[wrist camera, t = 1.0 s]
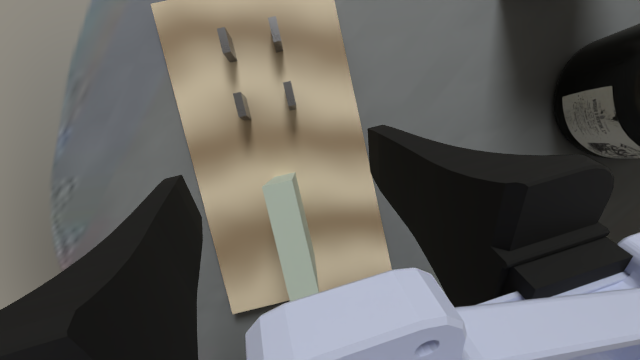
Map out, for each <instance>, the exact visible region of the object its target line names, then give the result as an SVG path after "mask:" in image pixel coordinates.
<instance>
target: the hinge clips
mask: <svg viewBox="0 0 640 360" xmlns="http://www.w3.org/2000/svg"><path fill="white" fill-rule="evenodd" d="M268 21H269V25H270V29H271V34H272V38H273V42H274V46H275V50H276V53H277V52H281V51H283V47H282V41H281V37H280V32H279V28H278V24H277V19H276V16H274V17H269V18H268ZM217 32H218V36H219V40H220V44H221V48H222V52H223V54H224V55H225V57H226V58H227V59H228V61H229V62H230V63H231V62H235V61H237V58H236V53H235V49H234V45H233V41H232V38H231V36H230V35H229V33H228V32H227V30H226V28H225V27H222V28H217ZM283 85H284V89H285V94H286V98H287V102H288V107H289V110H295V109H297V107H296V102H295V97H294V93H293V89H292V84H291V81H288V82H283ZM233 96H234V101H235V105H236V109H237V113H238V117H239V118H241V119H242V120H244V121H245V120H250V119H251V115H250V111H249V107H248V103H247V98H246V97H245V96H244V95H243V94H242V93H241V92H238V93H233Z"/></svg>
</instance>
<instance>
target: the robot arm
mask: <svg viewBox="0 0 640 360" xmlns="http://www.w3.org/2000/svg"><path fill="white" fill-rule="evenodd" d="M368 143H369V160H370V172H371V174H372V176H373V178H374V180H375V182H376V184H377V186H378V187H379V189H380V191H381V192H382V194H383V195H384V196H385V198H386V199H387V200H388V202H389V203H390V204H391V206H392V207H393V208H394V210H395V211H396V212H397V214H398V215H399V216H400V218H401V219H402V220H403V222H404V223H405V224H406V226H407V227H408V228H409V230H410V231H411V233H412V234H413V236H414V237H415V239H416V240H417V242H418V244H419V246H420V247H421V249H422V251H423V252H424V254H425V256H426V258H427V259H428V261H429V263H430V265H431V267H432V268H433V270H434V272H435V274H436V276H437V278H438V279H439V281H440V283H441V285H442V287H443V289H444V291H445V293H446V295H447V296H446V295H445V293H444V292H443V290H442V289H441V288H440V286H439V285H438V283H437V282H436V280H435V279H434V277H433V276H432V275H431V274H430V273H427V272H425V271H422V270H420V269H417V268H404V269H396V270H389V271H386V272H383V273H380V274H377V275H373V276H370V277H367V278H364V279H361V280H357V281H354V282H351V283H348V284H345V285H341V286H338V287H335V288H332V289H329V290H325V291H322V292H319V293H316V294H313V295H309V296H306V297H303V298H300V299H296V300H293V301H290V302H287V303H284V304H282V305H280V306H278V307H276V308H274V309H272V310H270V311H268V312H266V313H264V314H262V315H261V316H260V317H259V318H258V319H257V320H256V322H255V323H254V324H253V325H252V326H251V328H250V329H249V330H248V331H247V332H246V334H245V342H246V360H640V232H639V233H636V234H633V235H630V236H628V237H626V238H624V239H622V240H621V241H620V242H618V243H617V244H615V243H614V242H612V241H611V240H609V239H608V238H606V237H605V236H607V235H608V234H609V230H608V228H606V227H605V226H603V225H602V224H600V223H599V222H598V220H599V218H600V216H601V214H602V212H603V210H604V208H605V206H606V204H607V202H608V200H609V198H610V195H611V192H612V190H613V182H614V178H613V174H612V172H611V170H610V169H609V168H607V167H606V166H604V165H602V164H600V163H598V162H596V161H594V160H592V159H590V158H588V157H586V156H584V155H549V156H538V155H514V154H501V153H492V152H484V151H477V150H471V149H466V148H460V147H455V146H451V145H447V144H443V143H439V142H436V141H432V140H429V139H426V138H422V137H419V136H416V135H413V134H410V133H407V132H404V131H402V130H399V129H396V128H392V127H389V126H385V125H380V126H376V127H372V128H368ZM202 241H203V235H202V217H201V215H200V213H199V210H198V208H197V206H196V204H195V202H194V200H193V198H192V196H191V193H190V191H189V189H188V187H187V185H186V183H185V181H184V179H183V176H182V175H179V176H175V177H171V178H167V179H164V180H163V181H162V182H161V183H160V184H159V185H158V186H157V187H156V188H155V189H154V190H153V191H152V192H151V193H150V194H149V195H148V196H147V198H146V199H145V200H144V201H143V202H142V203H141V204H140V205H139V206H138V207H137V208H136V209H135V210H134V211H133V213H131V214H130V215H129V216H128V217H127V218H126V219H125V220H124V221H123V222H122V223H121V224H120V225H119V226H118V227H117V228H116V229H115V230H114V231H113V232H112V233H111V234H110V235H109V236H108V237H106V238H105V239H104V240H103V241H102V242H101V243H99V244H98V245H97V246H96V247H95V248H93V249H92V250H91V251H90V252H88V253H87V254H86V255H85V256H83V257H82V258H81V259H79V260H78V261H76V262H75V263H74V264H72V265H71V266H69V267H68V268H67V269H65V270H64V271H62V272H61V273H60V274H58V275H57V276H55V277H54V278H52V279H51V280H49V281H48V282H46V283H45V284H43V285H42V286H40V287H38V288H37V289H35V290H34V291H32V292H30V293H29V294H27V295H25V296H24V297H22V298H20V299H19V300H17V301H15V302H14V303H12V304H10V305H8V306H7V307H5V308H3V309H1V310H0V360H198V346H197V288H198V279H199V270H200V261H201V251H202ZM447 297H448V298H447Z"/></svg>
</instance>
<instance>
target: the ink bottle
mask: <svg viewBox="0 0 640 360" xmlns="http://www.w3.org/2000/svg"><path fill="white" fill-rule="evenodd" d="M554 112H555V117H556V121H557V124H558V126H559V128H560V130H561V132H562V133H563V135H564V136H565V137H566V138H567V139H568V140H569V141H570V142H571V143H572V144H573V145H574V146H576V147H577V148H578V149H580V150H582V151H584V152H586V153H588V154H591V155H594V156H598V157H604V158H640V24H638V25H635V26H633V27H630V28H627V29H625V30H622V31H620V32H617V33H615V34H612V35H609V36H607V37H604V38H602V39H599V40H597V41H594V42H592V43H590V44H588V45H587V46H585V47H584V48H582V49H581V50H580V51H578V52H577V53H576V54H575V55H574V56H573V57H572V58H571V60H570V61H569V62H568V64H567V65H566V67H565V68H564V70H563V72H562V74H561V76H560V78H559V81H558V84H557V87H556V91H555V98H554Z"/></svg>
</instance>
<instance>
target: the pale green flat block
mask: <svg viewBox="0 0 640 360" xmlns="http://www.w3.org/2000/svg"><path fill="white" fill-rule="evenodd" d="M262 190H263V194H264V198H265V202H266V206H267V210H268V214H269V218H270V222H271V226H272V230H273V234H274V238H275V242H276V247H277V251H278V255H279V259H280V263H281V267H282V271H283V275H284V279H285V283H286V287H287V291H288V295H289V299H290V301H293V300H296V299H300V298H303V297H306V296H309V295H313V294H316V293H319V288H318V280H317V271H316V263H315V254H314V249H313V245H312V241H311V237H310V232H309V228H308V224H307V220H306V215H305V211H304V207H303V203H302V199H301V194H300V190H299V186H298V182H297V177H296V173H295V172H294V173H289V174H285V175H281V176H276V177H274V178H272V179H271V180H270V181H269V182H267V183H266V184H265V185H264V186H262Z"/></svg>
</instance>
